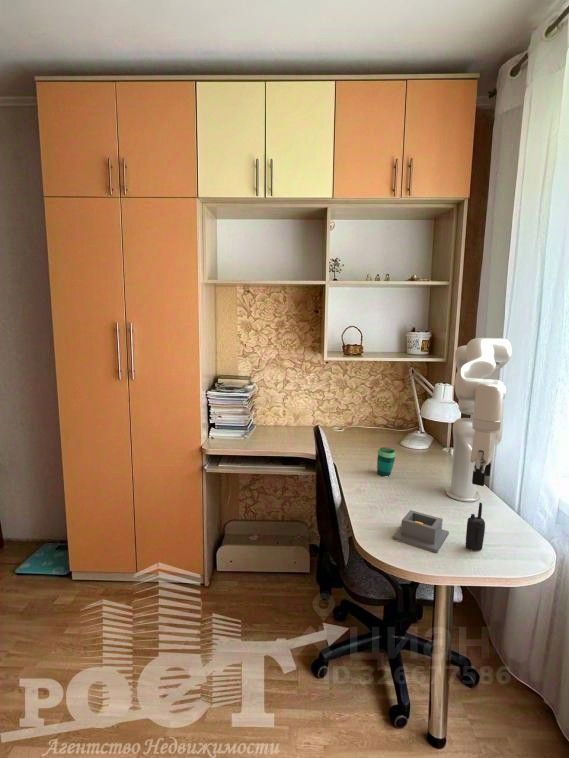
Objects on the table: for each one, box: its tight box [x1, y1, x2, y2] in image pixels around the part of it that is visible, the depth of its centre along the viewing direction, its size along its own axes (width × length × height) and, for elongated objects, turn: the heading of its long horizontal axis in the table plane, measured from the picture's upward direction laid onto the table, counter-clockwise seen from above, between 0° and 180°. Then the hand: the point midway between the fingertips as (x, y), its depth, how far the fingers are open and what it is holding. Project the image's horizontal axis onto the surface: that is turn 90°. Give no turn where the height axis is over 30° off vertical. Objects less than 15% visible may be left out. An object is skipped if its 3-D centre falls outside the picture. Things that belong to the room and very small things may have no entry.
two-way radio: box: [464, 502, 486, 552], centre depth 133 cm, size 6×4×15 cm
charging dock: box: [392, 509, 450, 554], centre depth 141 cm, size 14×14×6 cm
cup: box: [376, 446, 397, 477], centre depth 192 cm, size 8×8×12 cm
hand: (481, 479), depth 130 cm, fingers open, 9 cm apart
